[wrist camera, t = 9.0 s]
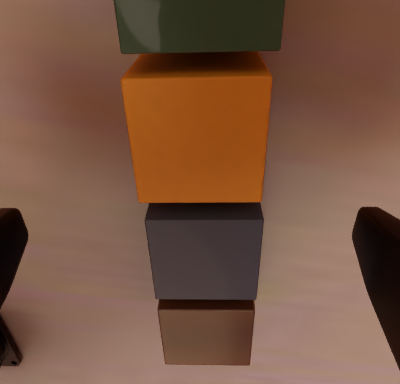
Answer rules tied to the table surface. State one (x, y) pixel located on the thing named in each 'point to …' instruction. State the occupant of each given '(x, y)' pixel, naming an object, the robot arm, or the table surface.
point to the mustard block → (198, 125)
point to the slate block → (205, 249)
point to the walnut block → (206, 331)
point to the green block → (199, 25)
